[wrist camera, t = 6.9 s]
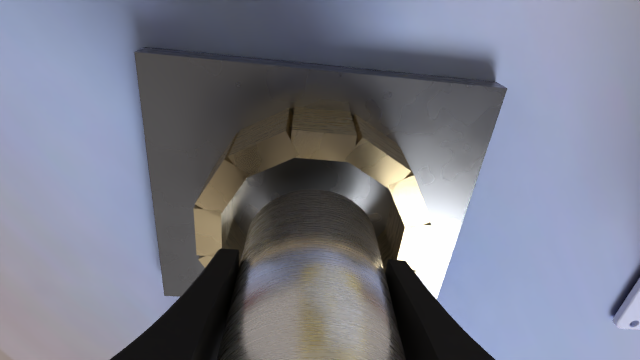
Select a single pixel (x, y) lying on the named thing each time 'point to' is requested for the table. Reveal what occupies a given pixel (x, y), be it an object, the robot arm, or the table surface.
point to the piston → (311, 285)
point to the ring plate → (308, 152)
